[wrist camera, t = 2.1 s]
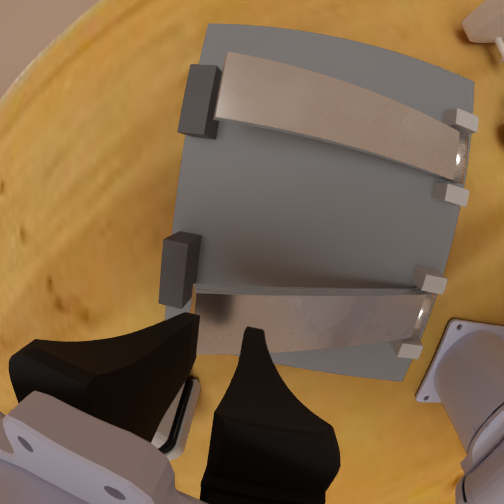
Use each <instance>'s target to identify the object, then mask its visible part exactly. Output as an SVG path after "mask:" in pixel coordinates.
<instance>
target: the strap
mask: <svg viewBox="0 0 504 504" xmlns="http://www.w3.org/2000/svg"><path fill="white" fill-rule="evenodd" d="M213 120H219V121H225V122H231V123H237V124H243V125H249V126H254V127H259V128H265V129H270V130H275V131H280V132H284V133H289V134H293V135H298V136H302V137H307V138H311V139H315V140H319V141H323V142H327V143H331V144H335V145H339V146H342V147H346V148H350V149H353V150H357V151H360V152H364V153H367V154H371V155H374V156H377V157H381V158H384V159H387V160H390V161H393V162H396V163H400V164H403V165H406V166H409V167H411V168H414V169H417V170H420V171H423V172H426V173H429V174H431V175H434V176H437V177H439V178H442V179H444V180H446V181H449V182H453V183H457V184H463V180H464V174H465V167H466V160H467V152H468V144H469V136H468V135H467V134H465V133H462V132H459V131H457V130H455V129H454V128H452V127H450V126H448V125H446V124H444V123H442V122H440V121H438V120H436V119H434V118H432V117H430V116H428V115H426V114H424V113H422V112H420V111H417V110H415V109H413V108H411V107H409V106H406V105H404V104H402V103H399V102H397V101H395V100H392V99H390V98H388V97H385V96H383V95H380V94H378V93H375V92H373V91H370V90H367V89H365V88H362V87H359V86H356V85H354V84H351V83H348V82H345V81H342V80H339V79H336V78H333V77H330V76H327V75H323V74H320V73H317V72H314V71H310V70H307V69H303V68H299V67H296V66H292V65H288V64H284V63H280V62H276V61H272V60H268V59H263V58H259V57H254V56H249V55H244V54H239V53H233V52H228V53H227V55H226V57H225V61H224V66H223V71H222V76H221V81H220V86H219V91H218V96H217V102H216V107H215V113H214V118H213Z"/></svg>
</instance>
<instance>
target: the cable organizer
mask: <svg viewBox="0 0 504 504" xmlns="http://www.w3.org/2000/svg"><path fill="white" fill-rule="evenodd" d="M461 25H462V27H463V29H464V31H465V33H466V35H467V37H468V39H469V41H471V42H474V43H495V44H496V47H497V49H498V51H499V53H500V55H501V58H502V59H499V60H501V61H500V62H498V63H501V62H504V0H485V1H484V2H483V3H482V4H481V5H479V6H478V7H477V8H476V9H475V10H474V11H473V12H471V13H470V14H469V15H468V16H467V17H466V18H465V19H464V20H463V21H462V22H461Z"/></svg>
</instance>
